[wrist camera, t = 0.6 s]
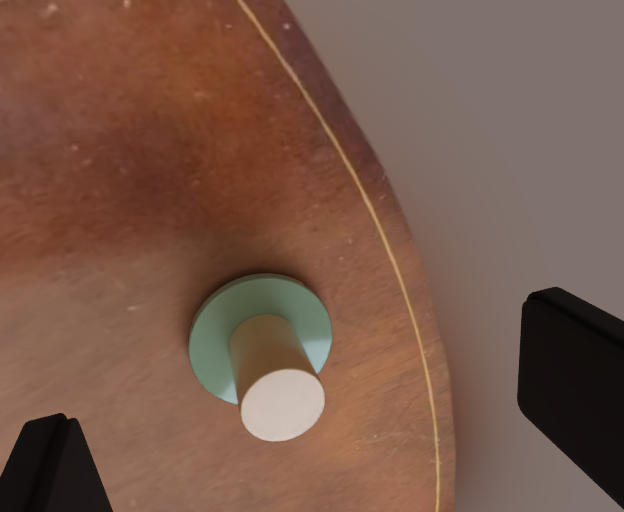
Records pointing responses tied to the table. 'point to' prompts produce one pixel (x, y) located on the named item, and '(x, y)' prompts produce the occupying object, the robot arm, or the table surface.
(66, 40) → the table surface
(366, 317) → the table surface
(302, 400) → the cylinder on green disc
